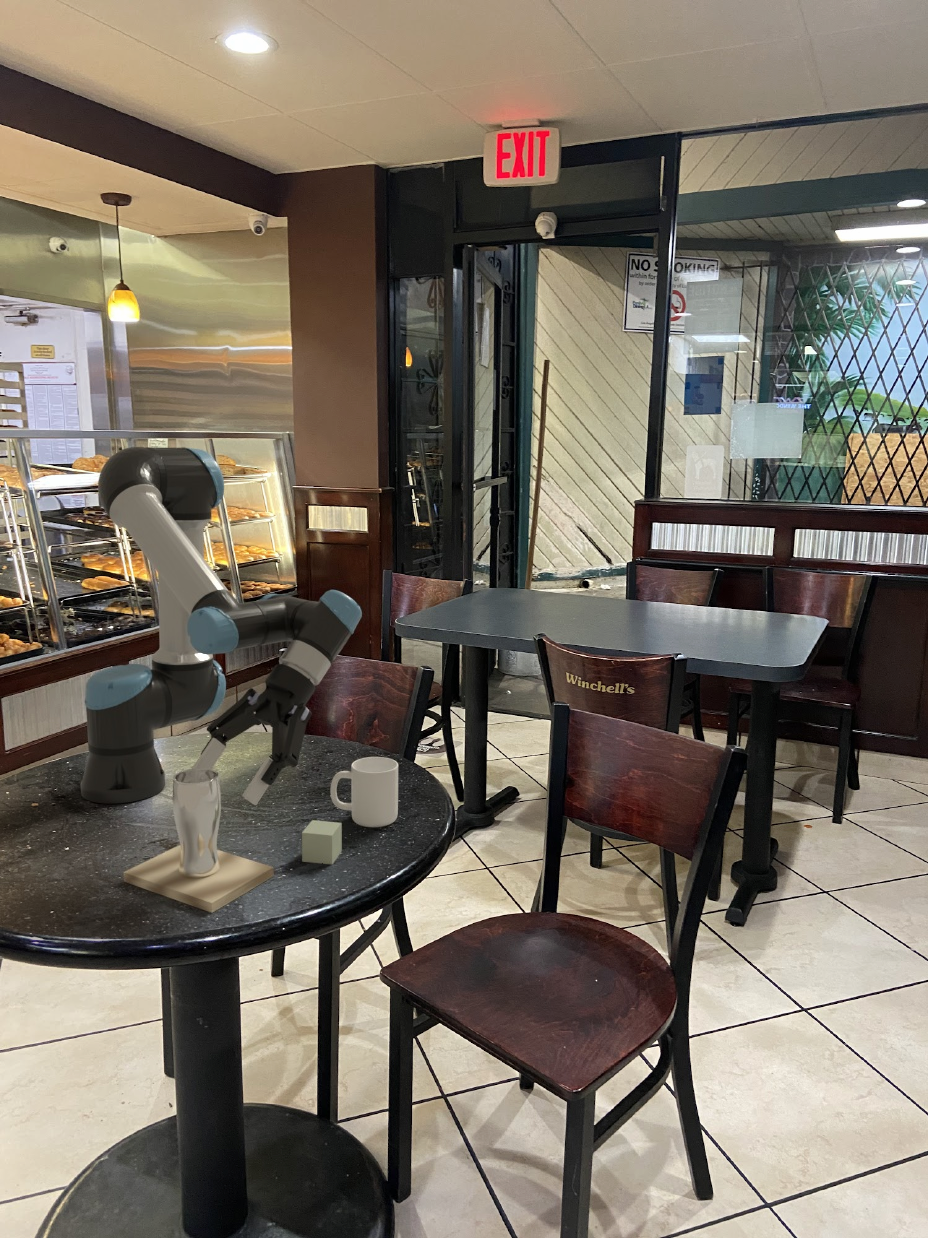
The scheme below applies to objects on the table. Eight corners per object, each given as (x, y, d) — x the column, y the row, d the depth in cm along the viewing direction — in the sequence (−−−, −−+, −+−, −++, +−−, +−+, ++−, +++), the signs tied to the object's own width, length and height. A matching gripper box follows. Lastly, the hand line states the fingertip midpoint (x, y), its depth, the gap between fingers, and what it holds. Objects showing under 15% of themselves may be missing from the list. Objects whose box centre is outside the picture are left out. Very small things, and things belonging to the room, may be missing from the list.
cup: (397, 827, 155) (397, 772, 154) (328, 828, 155) (328, 772, 153) (398, 809, 164) (398, 756, 162) (332, 809, 163) (332, 756, 161)
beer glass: (180, 883, 130) (176, 787, 128) (171, 864, 137) (167, 771, 134) (227, 874, 134) (224, 779, 131) (217, 855, 140) (214, 765, 137)
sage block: (302, 862, 142) (301, 832, 141) (312, 848, 147) (312, 820, 146) (332, 865, 141) (332, 835, 140) (341, 851, 146) (341, 823, 145)
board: (124, 881, 134) (123, 872, 134) (188, 849, 145) (188, 841, 145) (212, 913, 125) (211, 903, 125) (273, 876, 137) (273, 867, 136)
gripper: (362, 703, 138) (288, 822, 130) (262, 674, 154) (190, 779, 145) (336, 676, 133) (257, 799, 125) (236, 649, 149) (159, 757, 140)
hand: (221, 788), depth 135 cm, fingers open, 13 cm apart
